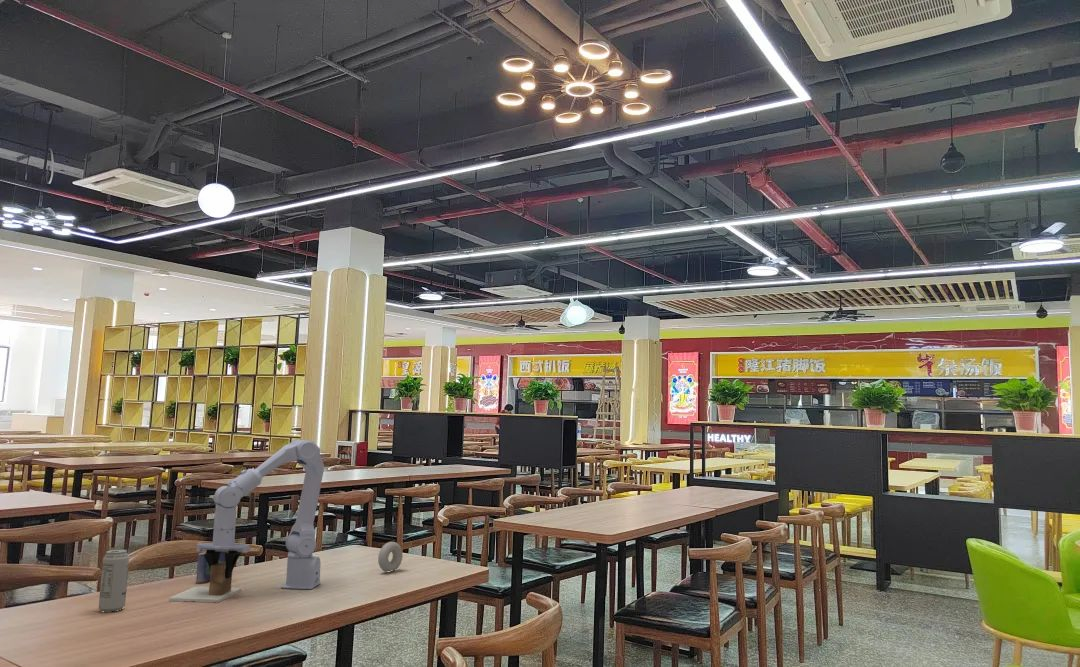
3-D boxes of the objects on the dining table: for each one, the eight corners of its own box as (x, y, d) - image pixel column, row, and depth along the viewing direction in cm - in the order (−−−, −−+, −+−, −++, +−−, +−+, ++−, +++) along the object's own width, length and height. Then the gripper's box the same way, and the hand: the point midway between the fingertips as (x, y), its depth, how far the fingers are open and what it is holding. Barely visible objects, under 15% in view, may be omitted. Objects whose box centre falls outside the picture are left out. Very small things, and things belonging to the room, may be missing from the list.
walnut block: (230, 590, 210) (232, 562, 210) (220, 595, 204) (222, 566, 205) (219, 590, 210) (221, 561, 211) (208, 595, 204) (210, 565, 205)
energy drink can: (127, 610, 190) (132, 551, 191) (101, 614, 185) (107, 554, 187) (121, 606, 194) (126, 548, 196) (95, 609, 190) (100, 550, 192)
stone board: (241, 590, 213) (241, 587, 213) (218, 602, 199) (218, 599, 200) (194, 589, 214) (195, 586, 214) (168, 600, 200) (168, 597, 200)
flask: (198, 584, 220) (201, 548, 222) (193, 583, 222) (196, 547, 223) (226, 579, 228) (228, 544, 229) (221, 578, 230) (223, 543, 231)
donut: (396, 569, 248) (398, 539, 249) (404, 570, 246) (405, 540, 248) (375, 574, 240) (376, 543, 241) (382, 575, 238) (383, 544, 239)
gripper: (192, 530, 205) (188, 579, 204) (242, 531, 204) (239, 581, 203) (205, 526, 212) (201, 574, 211) (253, 528, 211) (250, 576, 210)
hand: (220, 577), depth 207 cm, fingers closed on walnut block, 3 cm apart
